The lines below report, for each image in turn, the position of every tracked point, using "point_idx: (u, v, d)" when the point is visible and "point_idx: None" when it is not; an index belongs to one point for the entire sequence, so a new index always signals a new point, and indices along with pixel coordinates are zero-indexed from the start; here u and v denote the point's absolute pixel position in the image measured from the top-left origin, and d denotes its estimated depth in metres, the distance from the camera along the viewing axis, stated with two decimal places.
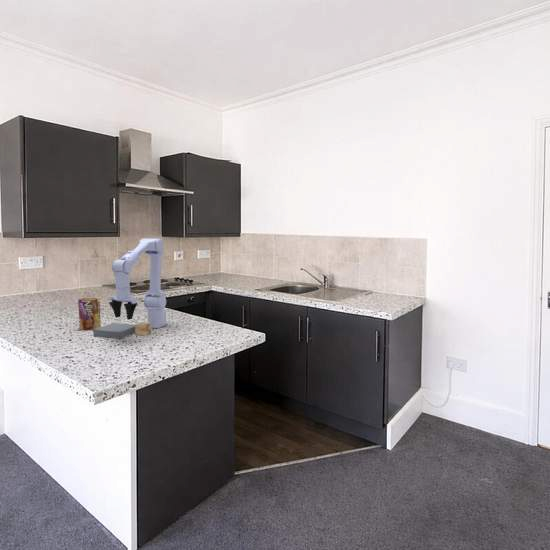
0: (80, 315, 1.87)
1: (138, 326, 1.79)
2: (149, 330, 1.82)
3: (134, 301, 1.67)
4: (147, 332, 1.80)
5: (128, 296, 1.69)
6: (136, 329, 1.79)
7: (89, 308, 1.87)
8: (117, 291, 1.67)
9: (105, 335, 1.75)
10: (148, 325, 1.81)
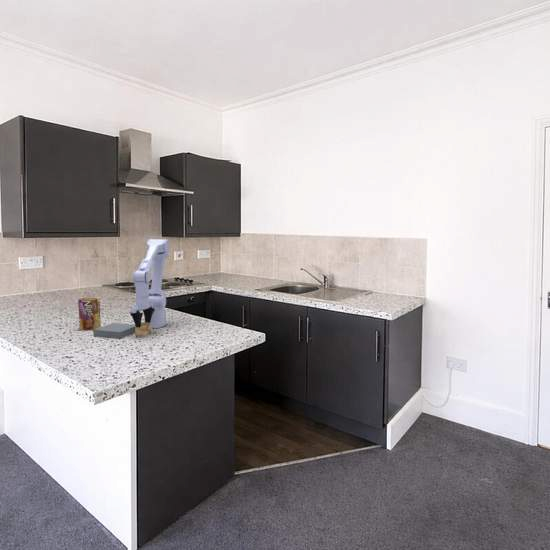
0: (80, 315, 1.87)
1: None
2: (149, 330, 1.82)
3: (132, 311, 1.73)
4: (147, 332, 1.80)
5: (140, 305, 1.77)
6: (136, 329, 1.79)
7: (89, 308, 1.87)
8: None
9: (105, 335, 1.75)
10: (148, 325, 1.81)
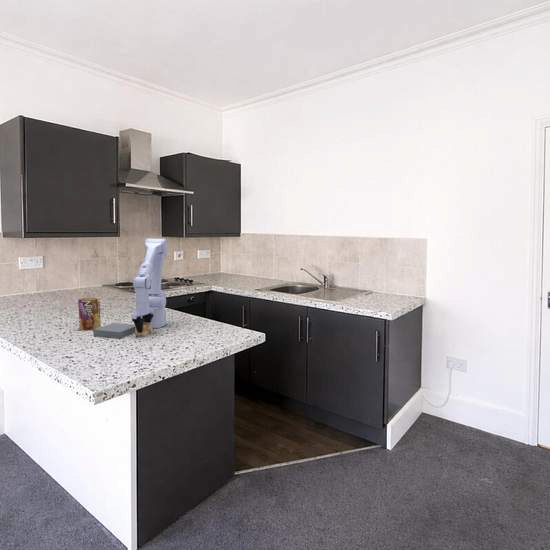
0: (80, 315, 1.87)
1: None
2: (149, 330, 1.82)
3: (132, 317, 1.74)
4: (147, 332, 1.80)
5: (140, 311, 1.78)
6: (136, 329, 1.79)
7: (89, 308, 1.87)
8: None
9: (105, 335, 1.75)
10: (148, 325, 1.81)
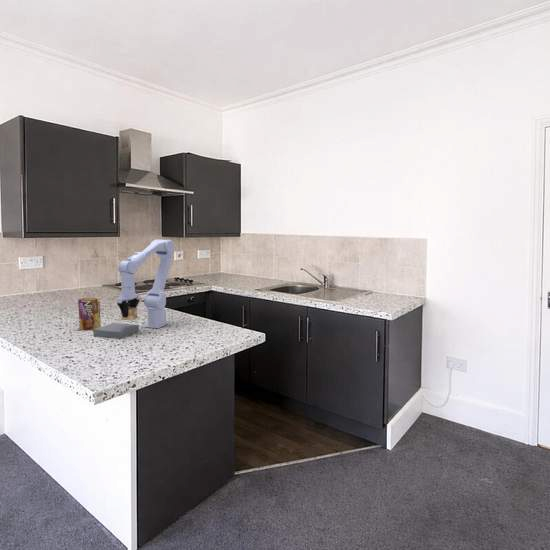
0: (80, 315, 1.87)
1: None
2: (135, 315, 1.81)
3: (118, 301, 1.73)
4: (133, 316, 1.79)
5: (125, 296, 1.77)
6: None
7: (89, 308, 1.87)
8: None
9: (105, 335, 1.75)
10: (134, 310, 1.80)
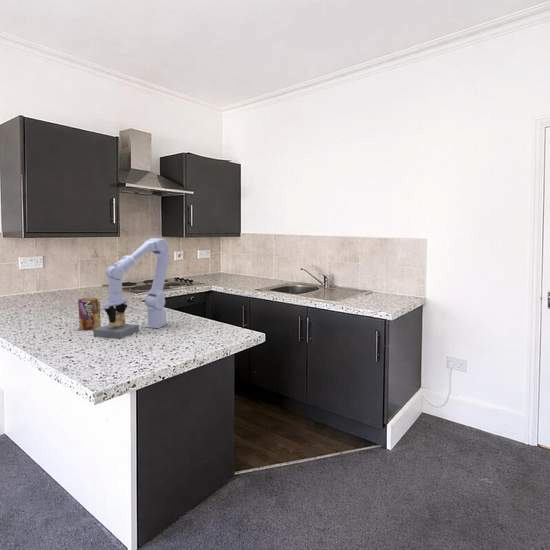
0: (80, 315, 1.87)
1: None
2: (123, 320, 1.82)
3: (104, 306, 1.73)
4: (120, 322, 1.80)
5: (112, 301, 1.77)
6: None
7: (89, 308, 1.87)
8: None
9: (105, 335, 1.75)
10: (122, 315, 1.81)
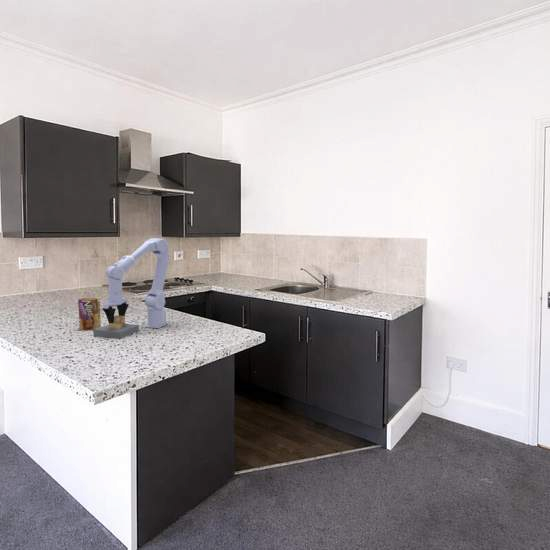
0: (80, 315, 1.87)
1: None
2: (123, 323, 1.82)
3: (104, 306, 1.73)
4: (120, 325, 1.80)
5: (112, 301, 1.77)
6: None
7: (89, 308, 1.87)
8: None
9: (105, 335, 1.75)
10: (122, 318, 1.81)
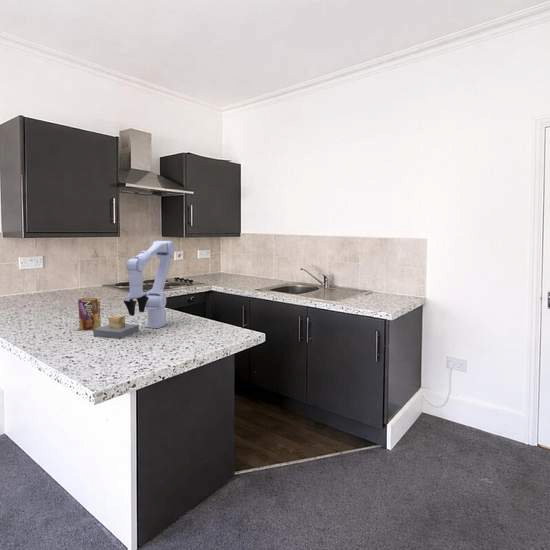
0: (80, 315, 1.87)
1: (111, 319, 1.79)
2: (123, 323, 1.82)
3: (126, 298, 1.74)
4: (120, 325, 1.80)
5: (133, 293, 1.78)
6: (109, 322, 1.79)
7: (89, 308, 1.87)
8: None
9: (105, 335, 1.75)
10: (122, 318, 1.81)
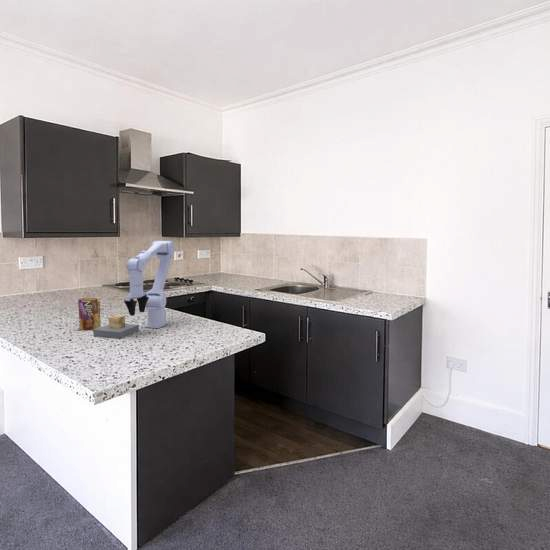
0: (80, 315, 1.87)
1: (111, 319, 1.79)
2: (123, 323, 1.82)
3: (126, 298, 1.74)
4: (120, 325, 1.80)
5: (134, 293, 1.78)
6: (109, 322, 1.79)
7: (89, 308, 1.87)
8: None
9: (105, 335, 1.75)
10: (122, 318, 1.81)
